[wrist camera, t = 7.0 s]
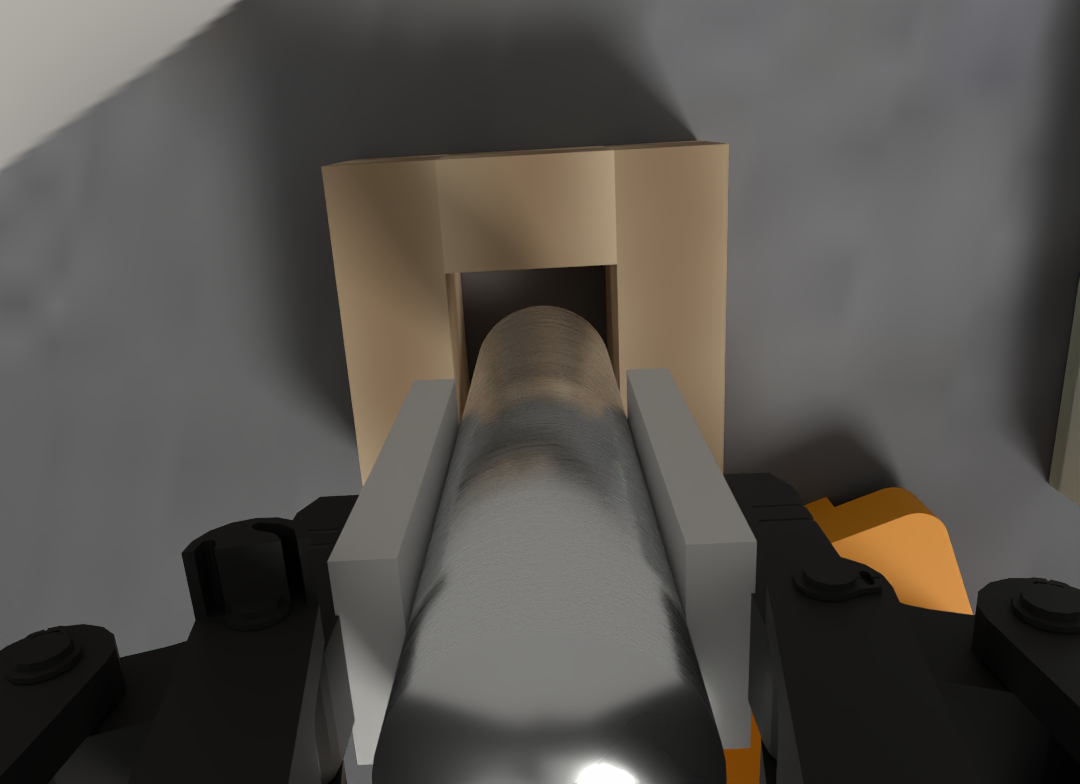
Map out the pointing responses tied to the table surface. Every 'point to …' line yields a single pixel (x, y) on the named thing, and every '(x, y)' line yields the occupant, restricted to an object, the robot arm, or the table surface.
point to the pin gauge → (547, 591)
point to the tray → (1069, 421)
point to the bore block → (530, 262)
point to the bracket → (880, 570)
